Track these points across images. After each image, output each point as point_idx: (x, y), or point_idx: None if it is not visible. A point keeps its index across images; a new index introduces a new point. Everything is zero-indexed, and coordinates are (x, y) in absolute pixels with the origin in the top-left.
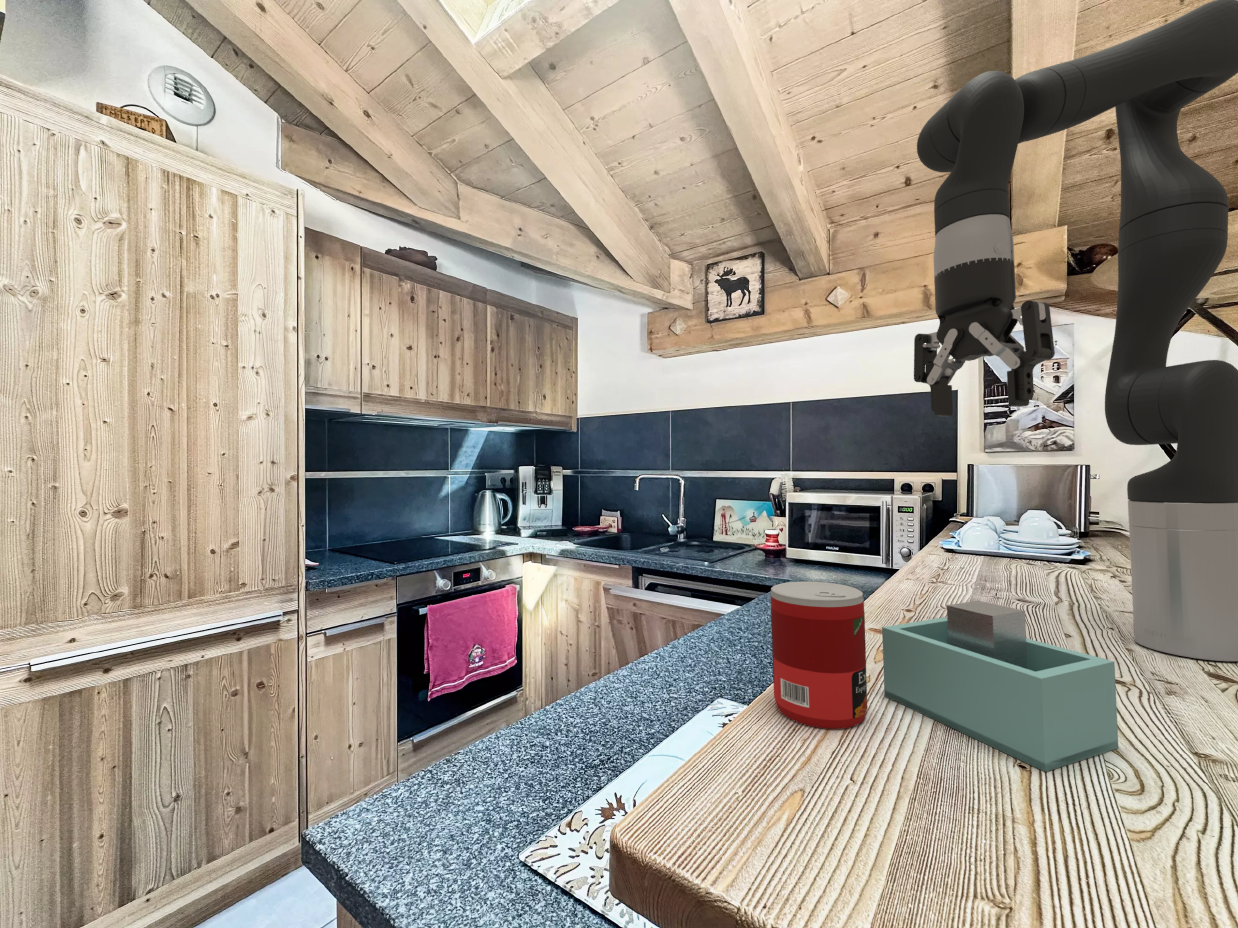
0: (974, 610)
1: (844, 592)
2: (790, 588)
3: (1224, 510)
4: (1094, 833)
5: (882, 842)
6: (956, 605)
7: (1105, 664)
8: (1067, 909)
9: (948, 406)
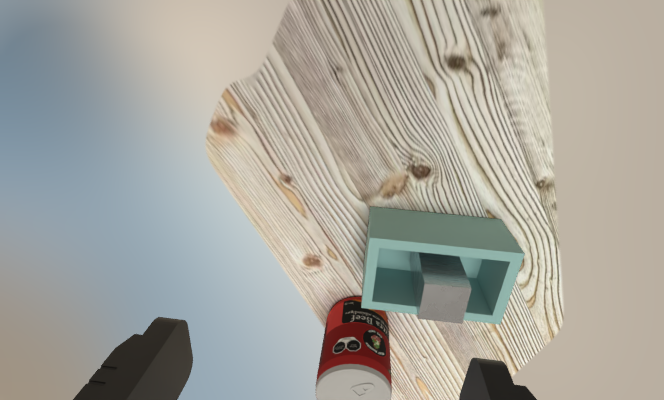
0: (442, 317)
1: (363, 377)
2: (327, 394)
3: None
4: (516, 315)
5: (461, 378)
6: (423, 312)
7: (520, 262)
8: (523, 361)
9: (167, 362)
